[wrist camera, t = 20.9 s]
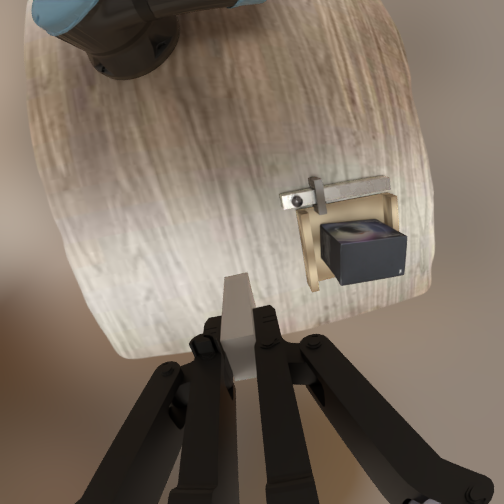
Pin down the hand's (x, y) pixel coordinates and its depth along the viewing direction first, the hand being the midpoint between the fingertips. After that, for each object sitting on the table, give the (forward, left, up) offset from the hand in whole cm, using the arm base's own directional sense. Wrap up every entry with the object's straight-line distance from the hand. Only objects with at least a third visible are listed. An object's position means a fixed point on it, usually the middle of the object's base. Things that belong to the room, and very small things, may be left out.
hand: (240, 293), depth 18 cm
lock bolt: (0, +16, -26) cm, 31 cm away
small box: (+8, +17, -26) cm, 32 cm away
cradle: (+6, +17, -26) cm, 32 cm away
